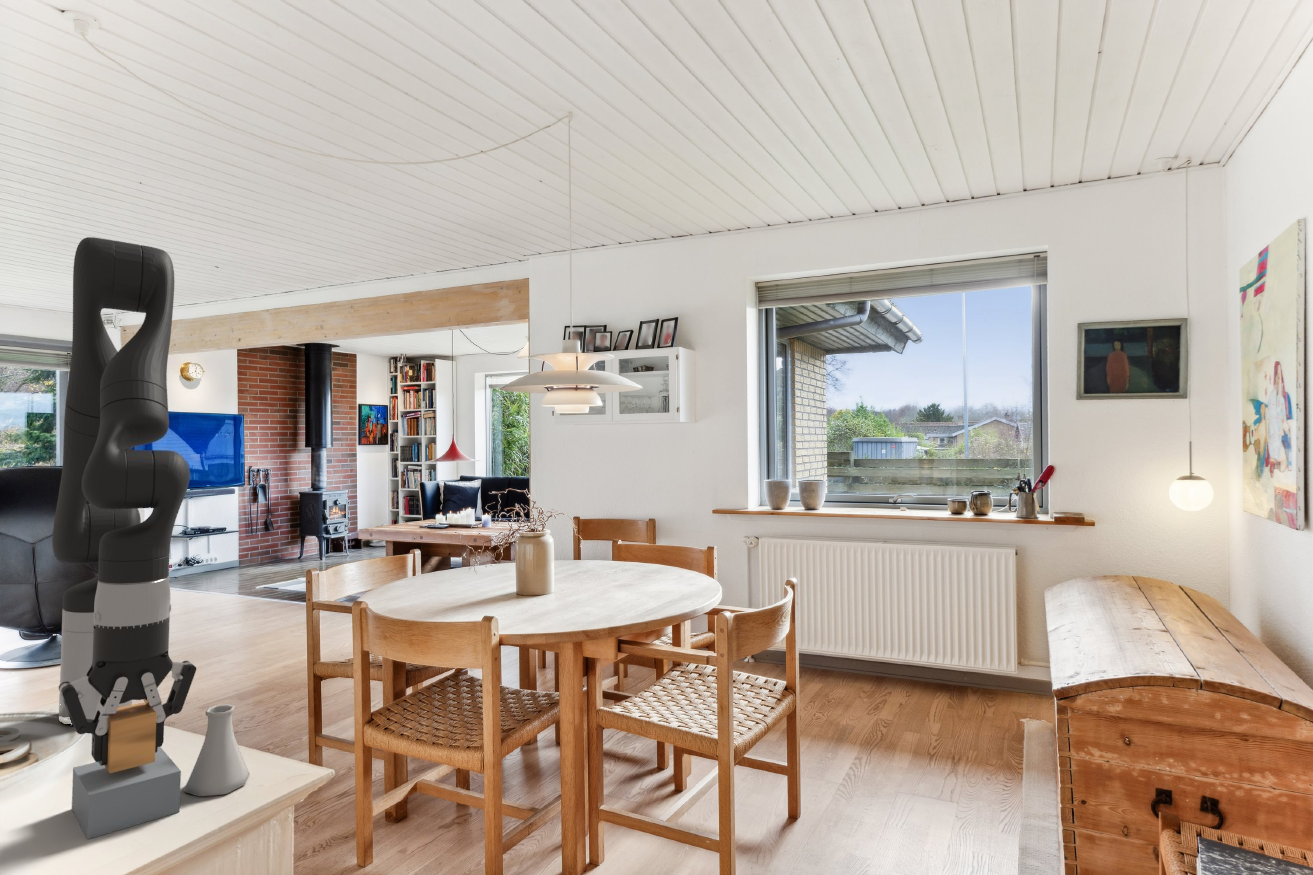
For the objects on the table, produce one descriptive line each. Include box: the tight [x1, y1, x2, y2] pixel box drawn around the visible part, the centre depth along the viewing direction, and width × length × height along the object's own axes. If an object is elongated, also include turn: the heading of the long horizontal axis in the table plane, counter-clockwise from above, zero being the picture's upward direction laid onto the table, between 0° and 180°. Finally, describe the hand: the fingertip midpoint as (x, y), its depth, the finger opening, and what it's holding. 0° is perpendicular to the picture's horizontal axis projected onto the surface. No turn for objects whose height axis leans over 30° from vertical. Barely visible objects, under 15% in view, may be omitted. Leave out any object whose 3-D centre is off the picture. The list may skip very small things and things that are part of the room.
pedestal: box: [71, 746, 182, 840], centre depth 91 cm, size 9×9×5 cm
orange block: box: [104, 702, 157, 773], centre depth 91 cm, size 4×4×6 cm
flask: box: [183, 703, 250, 797], centre depth 98 cm, size 7×7×10 cm
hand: (127, 756), depth 91 cm, fingers closed on orange block, 4 cm apart
